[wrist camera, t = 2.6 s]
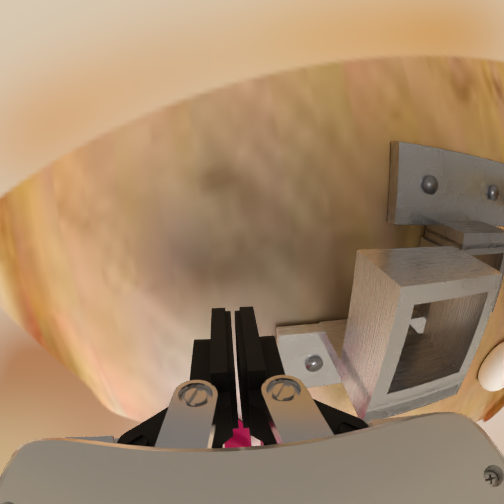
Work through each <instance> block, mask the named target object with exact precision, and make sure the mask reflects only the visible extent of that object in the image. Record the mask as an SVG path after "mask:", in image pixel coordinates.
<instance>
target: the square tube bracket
mask: <svg viewBox="0 0 504 504" xmlns="http://www.w3.org/2000/svg"><path fill="white" fill-rule="evenodd" d="M501 276H502V273H501V272H499V271H498V270H496V269H494V268H492V267H491V266H489V265H487V264H485V263H484V262H482V261H480V260H478V259H476V258H475V257H473V256H471V255H469V254H467V253H465V252H464V251H462V250H460V249H458V248H456V247H454V246H440V247H415V248H391V249H366V250H357V252H356V262H355V270H354V278H353V286H352V294H351V301H350V307H349V314H348V319H343V320H334V321H325V322H320V323H317V324H306V325H294V326H282V327H276V343H277V347H278V350H279V354H280V357H281V361H282V364H283V368H284V371H285V375H290V376H293V377H296V378H298V379H299V380H301V381H302V383H303V384H304V385H305V387H306V388H310V387H317V386H324V385H331V384H337V383H343V385H344V387H345V389H346V392H347V394H348V396H349V398H350V400H351V402H352V404H353V406H354V409H355V411H356V413H357V415H358V417H359V418H360V419H361V420H363V421H365V422H366V423H368V422H371V419H384V418H387V417H391V416H394V415H398V414H401V413H404V412H407V411H411V410H414V409H417V408H420V407H423V406H425V405H428V404H431V403H434V402H437V401H439V400H442V399H445V398H447V397H450V396H452V395H455V394H457V392H458V390H459V388H460V386H461V384H462V382H463V380H464V378H465V376H466V373H467V371H468V369H469V367H470V365H471V363H472V360H473V358H474V356H475V353H476V351H477V349H478V346H479V344H480V341H481V339H482V336H483V333H484V331H485V328H486V325H487V322H488V319H489V317H490V314H491V311H492V308H493V304H494V301H495V298H496V295H497V291H498V288H499V284H500V280H501ZM429 302H431V306H430V309H429V313H428V317H427V320H426V319H425V318H424V317H423V316H422V315H421V314H420V313H419V312H418V311H413V308H414V305H416V304H423V303H429Z"/></svg>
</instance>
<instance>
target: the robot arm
mask: <svg viewBox="0 0 504 504" xmlns="http://www.w3.org/2000/svg"><path fill="white" fill-rule="evenodd" d="M235 332H236V352H237V369H238V380H239V390H240V400H241V410H242V420H243V428H249V433H250V436H254V437H255V438H257V439H259V440H260V441H261V446H251V447H236V448H225V444H224V443H225V442H227V441H228V440H229V439H230V438H232V437H233V429H239V426H238V412H237V397H236V382H235V367H234V354H233V341H232V327H231V313H230V311H225V308H212V317H211V339H203V340H194V346H193V355H192V364H191V374H190V381H186V382H184V383H182V384H180V385H179V386H178V387H177V388H176V390H175V391H174V394H173V396H172V399H171V402H170V405H169V407H167V408H166V409H164V410H163V411H161V412H159V413H158V414H156V415H155V416H153V417H151V418H150V419H148V420H146V421H145V422H143V423H141V424H140V425H138V426H136V427H135V428H133V429H131V430H129V431H128V432H126V433H124V434H123V435H122V436H121V437H120V438H117V439H114V437H113V436H101V437H66V438H44V439H36V440H32V441H29V442H26V443H25V444H22V445H21V446H20V447H19V448H18V449H17V450H16V451H15V452H14V453H13V455H12V456H11V458H10V460H9V461H8V463H7V464H6V466H5V468H4V470H3V472H2V474H1V476H0V504H504V456H503V454H502V453H501V452H500V450H499V449H498V448H497V446H496V445H495V444H494V442H493V441H492V440H491V438H490V437H489V436H488V435H487V434H486V432H485V431H484V430H483V429H482V428H481V427H480V426H479V425H478V424H477V423H476V422H475V421H473V420H472V419H471V418H469V417H468V416H466V415H463V414H460V413H453V412H436V413H428V414H421V415H415V416H406V417H397V418H386V419H371V422H369V423H366V422H365V421H363V420H361V419H360V418H357V417H355V416H352V415H350V414H347V413H345V412H342V411H340V410H338V409H335V408H333V407H330V406H328V405H326V404H323V403H321V402H319V401H316V400H314V399H312V397H311V395H310V394H309V392H308V390H307V388H306V387H305V385H304V384H303V383H302V381H301V380H299V379H298V378H296V377H293V376H290V375H285V371H284V368H283V364H282V361H281V357H280V354H279V350H278V347H277V343H276V340H275V337H274V336H263V337H259V334H258V329H257V324H256V319H255V315H254V310H253V307H240V311H235Z"/></svg>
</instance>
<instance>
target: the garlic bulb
mask: <svg viewBox="0 0 504 504" xmlns="http://www.w3.org/2000/svg"><path fill="white" fill-rule="evenodd" d="M478 380H479V383H480V385H481V386H482V387H483V388H484V389H486V390H488V391H498V390H500V389H502V388H504V342H502V343H500V344H499V345H497V346H496V347H495V348H494V349H493V350H492V351H491V352H490V353H489V354H488V356H487V357H486V358H485V360H484V362H483V363H482V365H481V367H480V370H479V373H478Z"/></svg>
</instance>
